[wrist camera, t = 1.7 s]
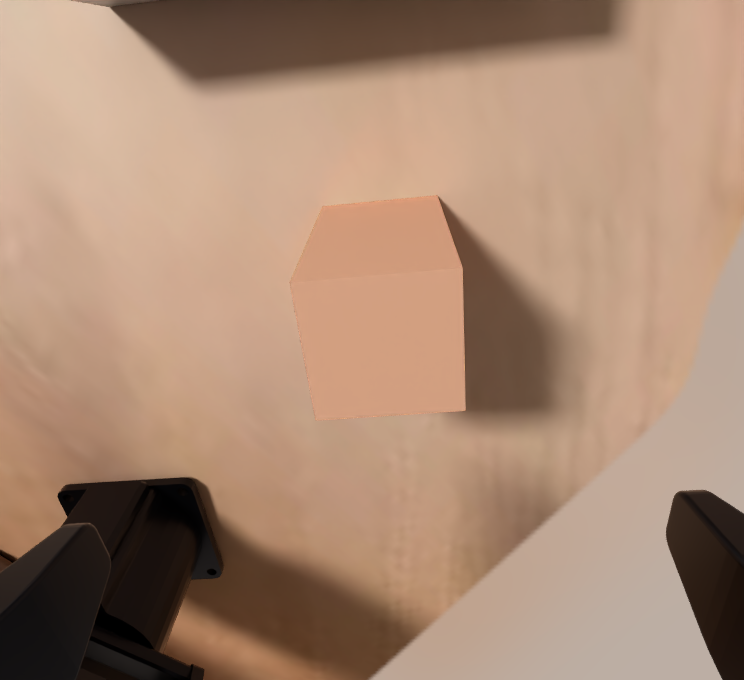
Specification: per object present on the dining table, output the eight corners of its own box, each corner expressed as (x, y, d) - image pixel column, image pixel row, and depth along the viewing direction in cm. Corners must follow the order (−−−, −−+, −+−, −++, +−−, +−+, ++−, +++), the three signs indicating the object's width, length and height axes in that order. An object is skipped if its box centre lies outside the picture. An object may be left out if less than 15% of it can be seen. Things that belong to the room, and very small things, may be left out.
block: (441, 301, 20) (465, 410, 14) (337, 309, 20) (315, 420, 14) (437, 195, 18) (462, 267, 12) (322, 206, 18) (289, 282, 12)
